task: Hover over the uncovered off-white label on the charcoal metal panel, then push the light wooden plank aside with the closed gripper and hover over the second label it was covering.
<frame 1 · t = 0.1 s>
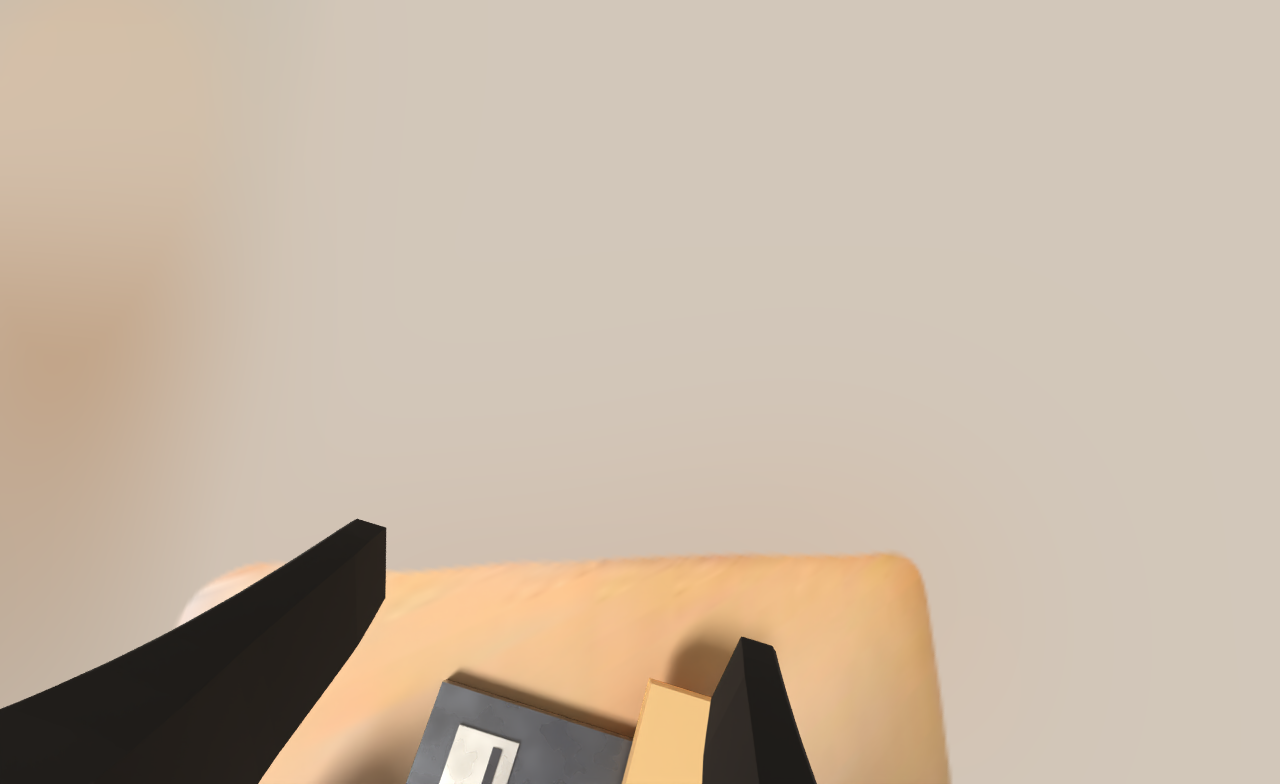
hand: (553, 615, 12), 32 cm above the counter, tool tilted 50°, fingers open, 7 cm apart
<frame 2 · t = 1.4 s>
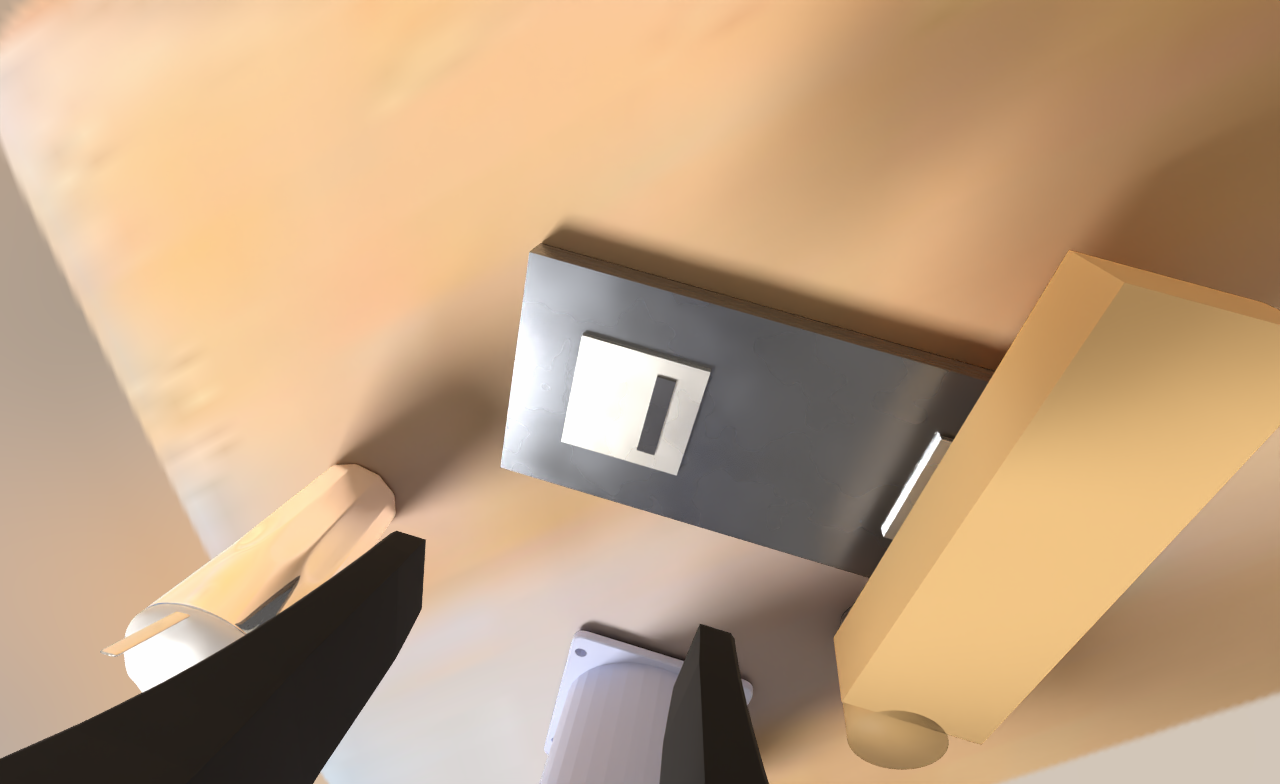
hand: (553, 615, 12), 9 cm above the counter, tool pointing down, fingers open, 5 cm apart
milkshake: (362, 484, 24), on the counter
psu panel: (813, 441, 20), on the counter
light wooden plank: (994, 566, 17), point 3 cm above the counter, hinge at 0.0°
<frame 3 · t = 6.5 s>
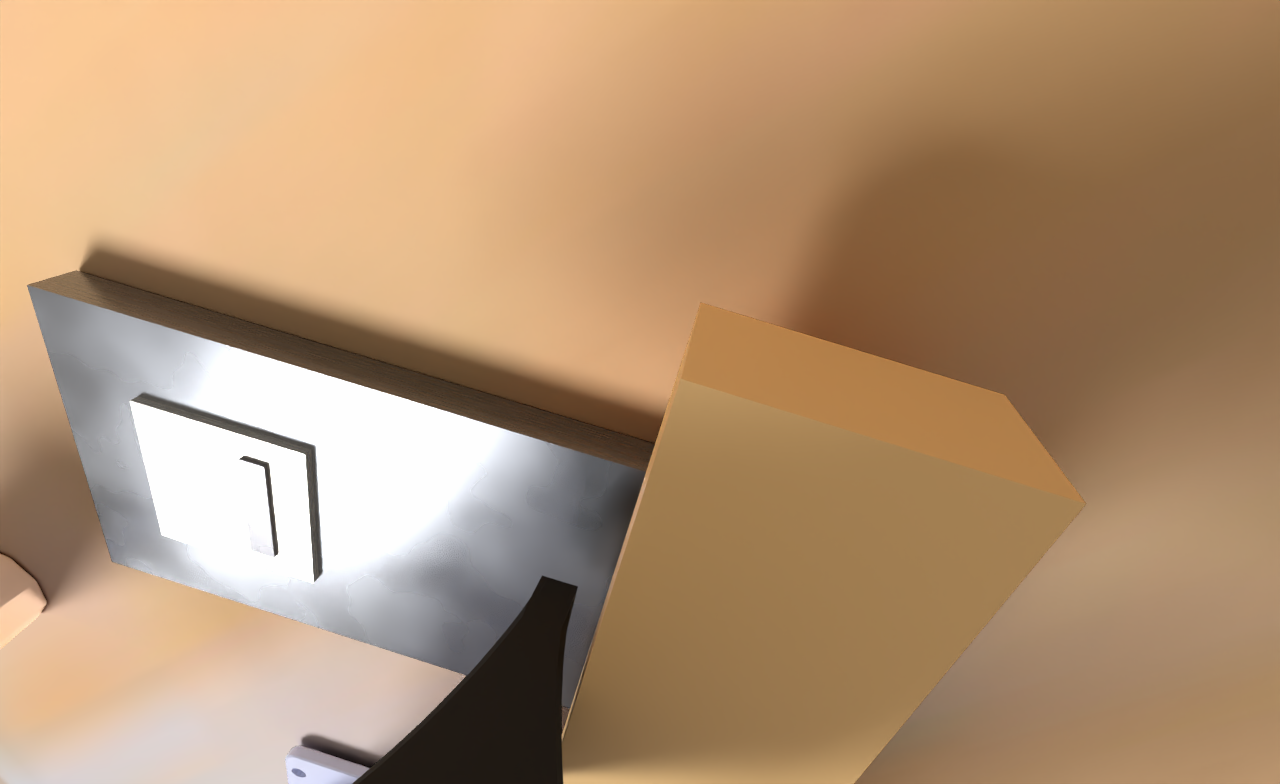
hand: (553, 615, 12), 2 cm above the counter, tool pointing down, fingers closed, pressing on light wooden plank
milkshake: (2, 566, 19), on the counter
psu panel: (496, 539, 14), on the counter
light wooden plank: (679, 748, 11), point 3 cm above the counter, hinge at 0.9°, touching gripper
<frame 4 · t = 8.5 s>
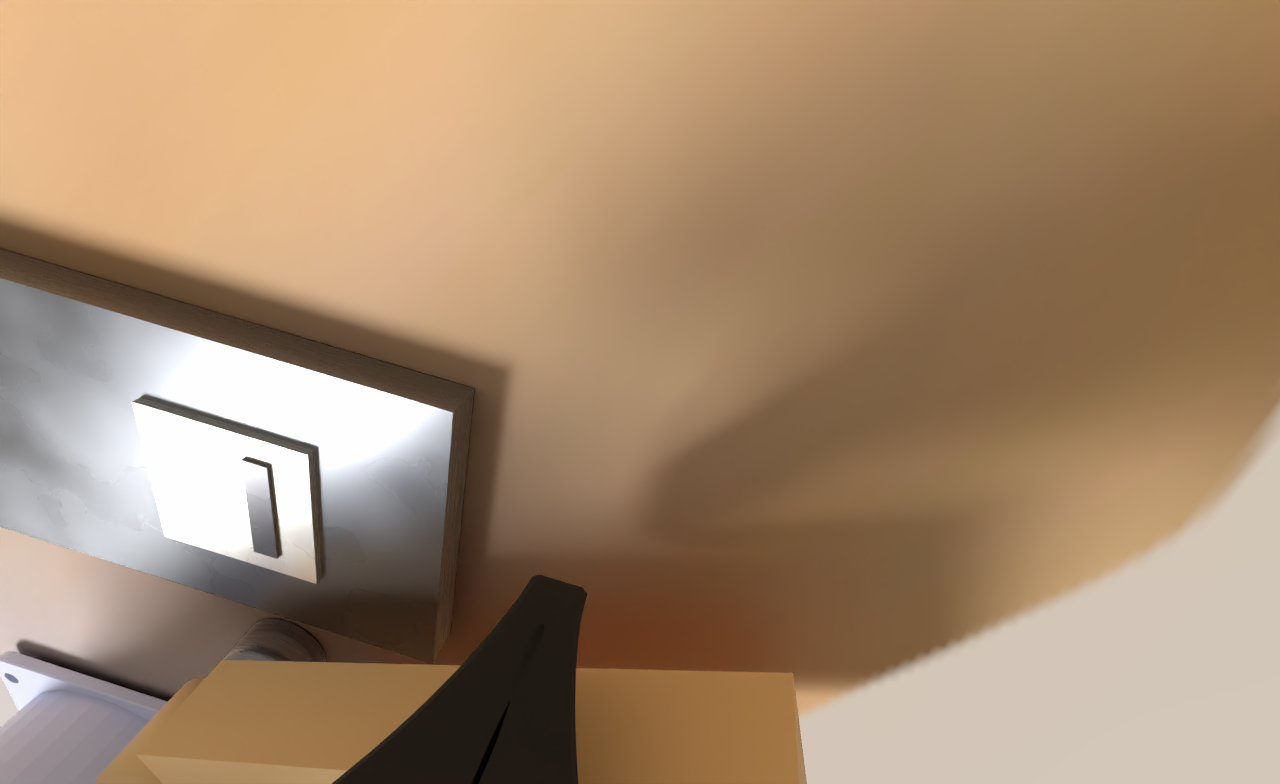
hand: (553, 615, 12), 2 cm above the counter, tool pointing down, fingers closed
pivot plinth: (288, 646, 18), on the counter
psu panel: (80, 411, 15), on the counter
light wooden plank: (430, 775, 14), point 3 cm above the counter, hinge at 65.5°, touching gripper
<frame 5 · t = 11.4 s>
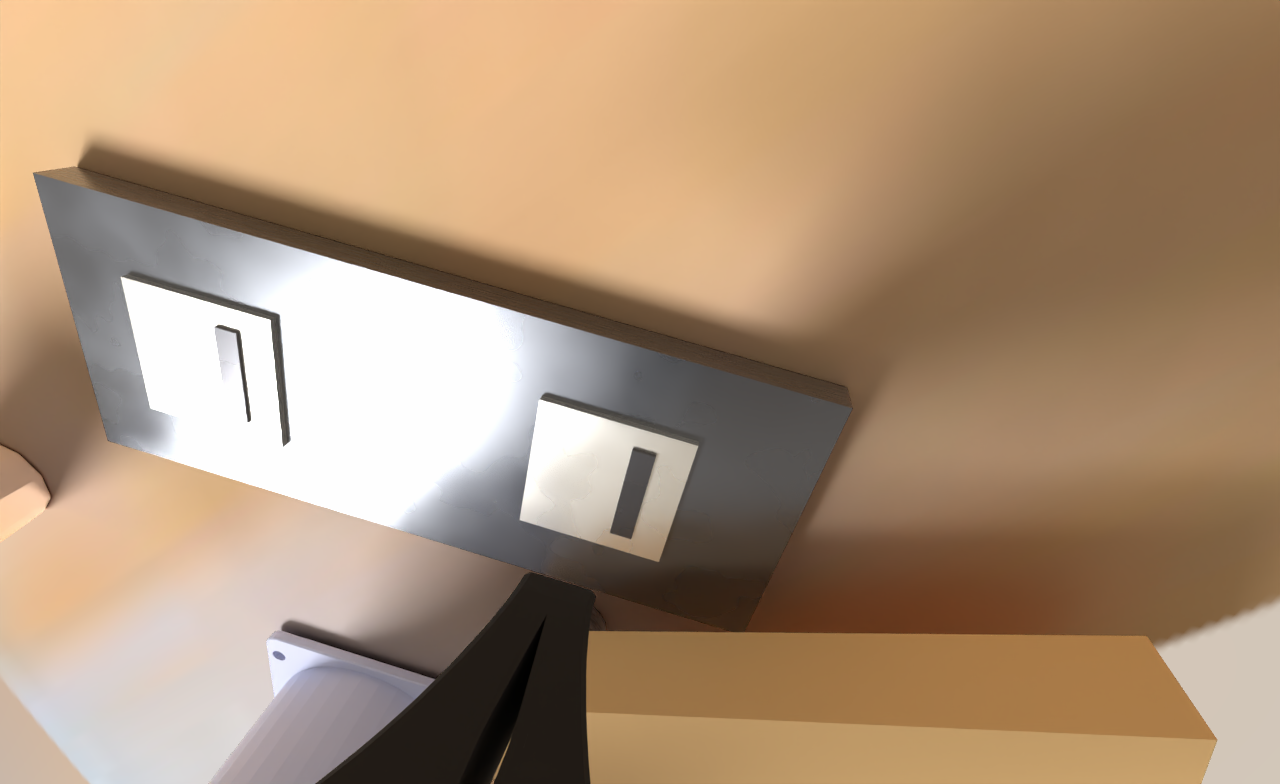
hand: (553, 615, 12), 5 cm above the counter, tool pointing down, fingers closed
milkshake: (10, 464, 22), on the counter
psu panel: (440, 408, 17), on the counter
light wooden plank: (780, 730, 15), point 3 cm above the counter, hinge at 65.8°
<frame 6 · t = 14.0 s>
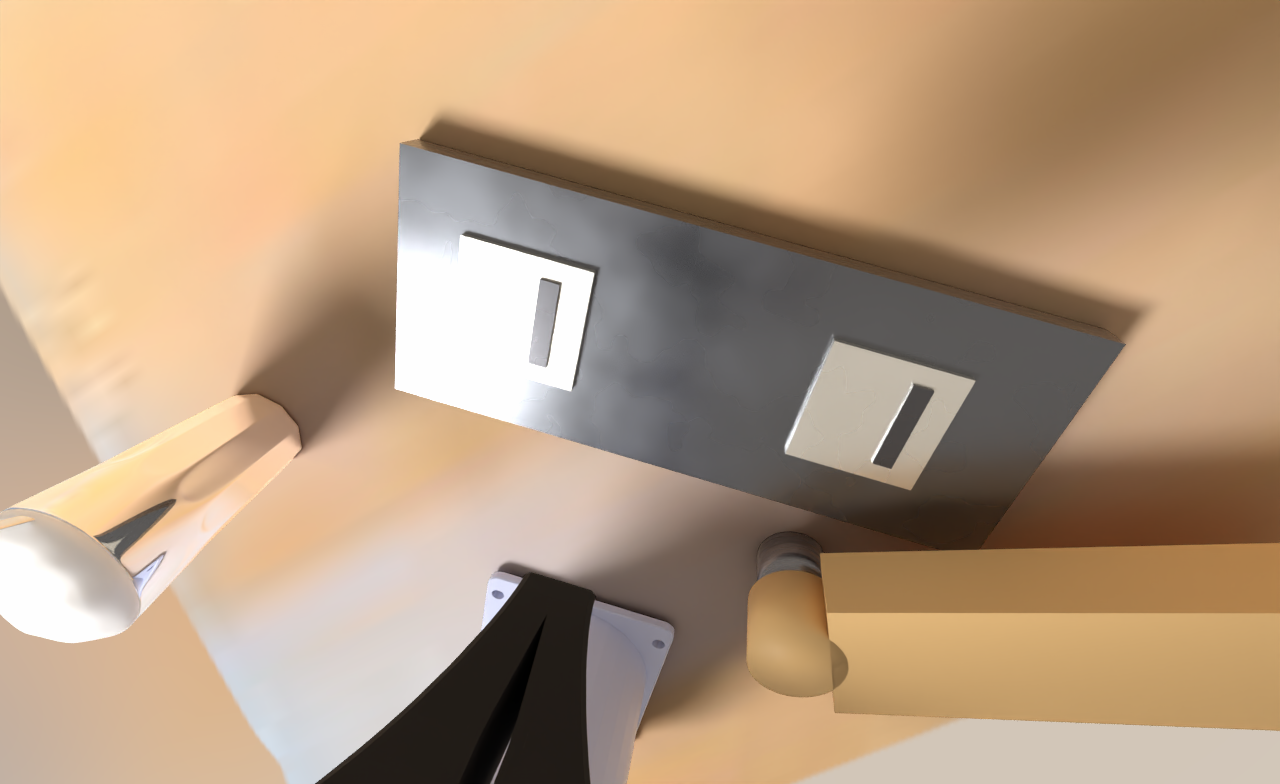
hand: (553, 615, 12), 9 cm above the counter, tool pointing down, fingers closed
pivot plinth: (790, 557, 22), on the counter
milkshake: (266, 417, 24), on the counter
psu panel: (713, 355, 19), on the counter
light wooden plank: (1031, 634, 18), point 3 cm above the counter, hinge at 65.8°
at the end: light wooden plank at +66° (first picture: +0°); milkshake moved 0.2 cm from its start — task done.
